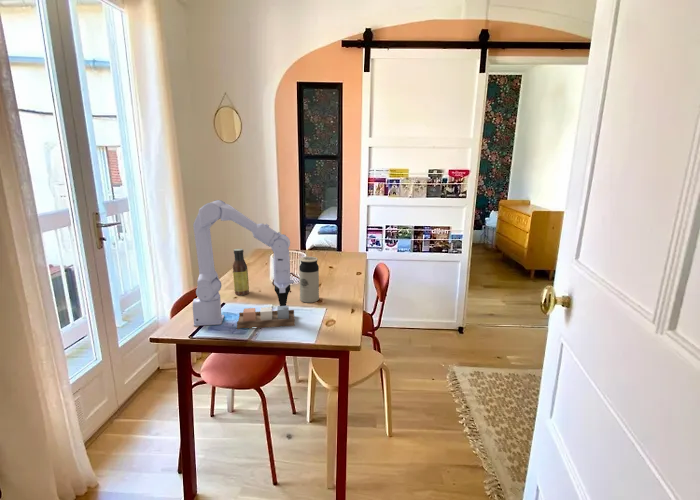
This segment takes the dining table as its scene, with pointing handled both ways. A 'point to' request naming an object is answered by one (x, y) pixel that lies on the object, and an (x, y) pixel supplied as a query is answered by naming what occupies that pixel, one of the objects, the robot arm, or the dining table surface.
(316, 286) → the travel mug
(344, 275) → the dining table surface
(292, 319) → the panel
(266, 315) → the cream cube
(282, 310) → the grey cube
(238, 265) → the sauce bottle
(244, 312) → the salmon pink cube
